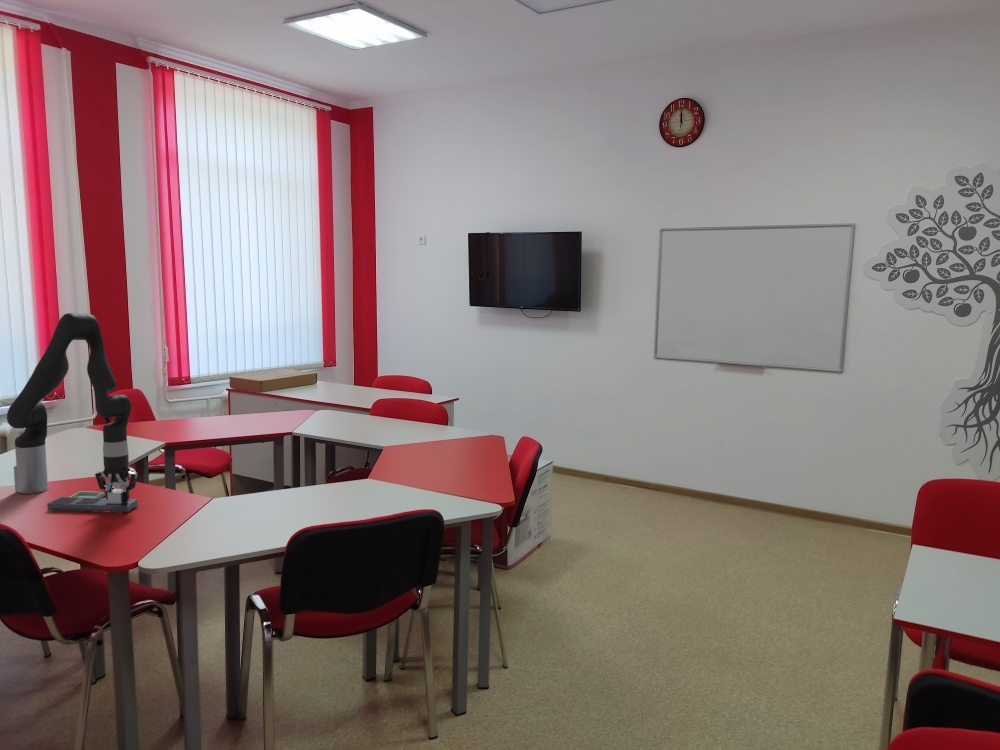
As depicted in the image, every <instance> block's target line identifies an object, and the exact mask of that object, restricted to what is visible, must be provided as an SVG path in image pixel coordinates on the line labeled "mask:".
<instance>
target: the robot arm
mask: <svg viewBox="0 0 1000 750" xmlns="http://www.w3.org/2000/svg"><path fill="white" fill-rule="evenodd" d="M102 335H103V334H102V330H101V327H100V323H99V322H98V320H97V318H96V317H95V316H94V315H93V314H90V313H80V312H79V313H78V312H68V313H65V314H63V315H62V316H61V317H60V319H59V320H58V323H57V325H56V327H55V329H54V332H53V334H52V336H51V338H50V342H49V344H48V345H47V347H46V348H45V349H46V350H45V351H44V353H43V355H42V356H41V358H40V360H39V361H38V363H37V364H36V366H35V368H34V370H33V372H32V374H31V376H30V377H29V379H28V380H27V382H26V384H25V386H24V387H23V389H22V390H21V392H20V393H19V394H18V396H17V397H16V398H15V399H14V400H13V402H12V403H11V405H10V406H9V408H8V410H7V413H6V420H7V424H8V425H9V426H10V427H12V428H13V429H24V431H23V432H22V433H21V434H20V435H18V436H16V438H15V439H14V449H15V450H14V451H15V463H16V465H15V466H14V467H13V477H14V478H13V479H14V492H15V493H19V494H22V495H23V494H24V495H28V494H30V495H31V494H38V493H42V492H45V491H47V490H48V489H49V483H48V482H49V481H48V466H47V465H48V464H47V463H48V461H47V449H46V448H47V447H46V438H47V435H48V411H47V408H46V406H45V404H44V403H43V402H42V400H43V399H44V398H46V397H47V396H48V395H50V394H51V393H52V392H53V391H55V390H56V389H57V388H58V387H59V386H60V385H61V384H62V382H63V380H64V379H65V377H66V376H67V373H68V372H69V369H70V367H69V366H70V365H69V360H68V357H67V350H68V348H69V346H70V345H71V343H72V341H85V342H86V344H87V345H88V348H89V357H88V361H87V366H86V372H87V376H88V378H89V380H90V383H91V385H92V387H93V391H94V392H93V393H94V400H95V401H94V403H95V405H94V406H95V411H96V413H97V414H98V416H99V417H102V418H103V419H104V418H113V417H114V419H113V420H112V421H111V422H108V423H106V424H104V425H103V426H102V435H103V439H102V440H103V441H102V442H103V443H102V452H103V453H102V454H103V467H104V469H103V471H101V470H100V471H97V472H96V473H95V474H94V475H95V476H94V477H95V478H96V481H97V485H98V488H99V489H100V490H104V492H105V498H106V499H107V500H108V496H107V493H108V492H110V491H111V490H113V489H112V487H113V484H114V482H117V483H119V484H120V486H121V487H122V490H123V492H122V495H123V502H126V501H128V499H130V491H131V490H133V489H135V488H136V484H137V480H138V476H139V472H137V471H136V472H133V471H130V468H129V465H130V464H129V463H130V462H129V461H130V460H129V444H128V437H127V436H128V435H127V428H128V427H127V426H128V423H129V419H130V415H131V410H132V402H131V400H130V398H129V397H128V396H127V395H125V394H117V395H110V396H108V393H110V392H112V391H114V390H116V388H117V386H118V385H117V381H116V378H115V376H114V373H113V372H112V369H111V366H110V364H109V361H108V358H107V353H106V348H105V345H104V339H103V336H102ZM128 478H129V479H128ZM123 481H124V482H123Z"/></svg>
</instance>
